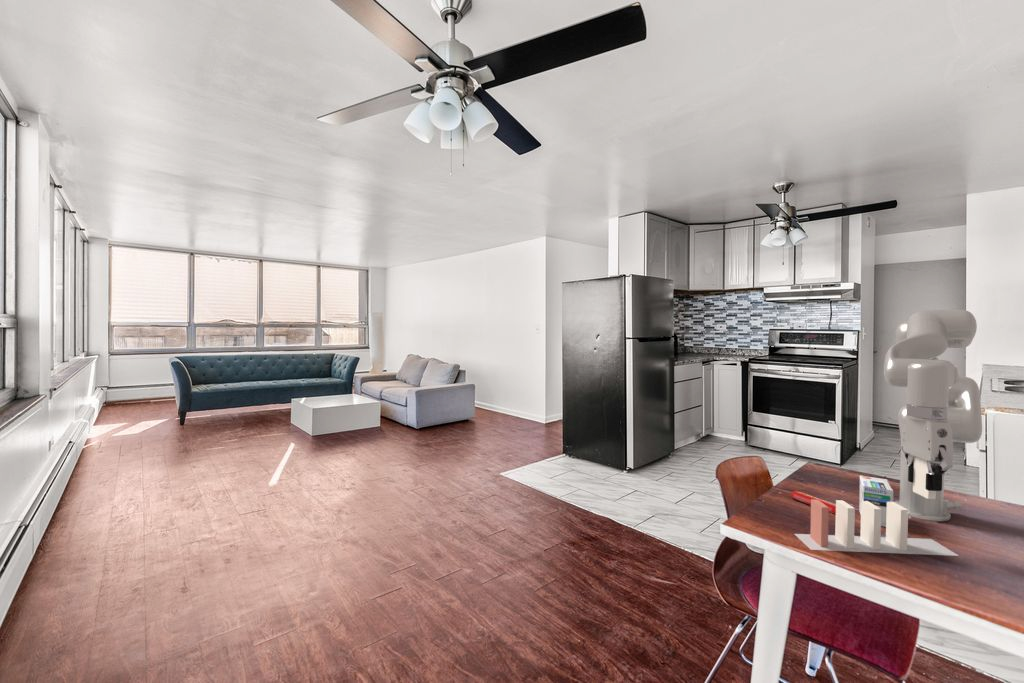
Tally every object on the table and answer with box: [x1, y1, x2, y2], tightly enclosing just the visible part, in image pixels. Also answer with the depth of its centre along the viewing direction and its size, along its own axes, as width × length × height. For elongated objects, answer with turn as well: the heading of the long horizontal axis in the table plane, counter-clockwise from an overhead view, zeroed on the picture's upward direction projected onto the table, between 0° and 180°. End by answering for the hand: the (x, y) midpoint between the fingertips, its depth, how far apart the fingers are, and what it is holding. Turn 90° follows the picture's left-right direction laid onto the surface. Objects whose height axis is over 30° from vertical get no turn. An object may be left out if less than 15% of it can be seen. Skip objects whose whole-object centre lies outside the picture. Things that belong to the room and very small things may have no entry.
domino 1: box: [809, 499, 830, 547], centre depth 117 cm, size 2×5×10 cm, turn 174°
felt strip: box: [794, 533, 960, 557], centre depth 116 cm, size 33×8×1 cm, turn 83°
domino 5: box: [913, 456, 937, 499], centre depth 113 cm, size 2×5×10 cm, turn 174°
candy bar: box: [790, 490, 836, 515], centre depth 140 cm, size 16×4×3 cm, turn 22°
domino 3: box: [859, 501, 882, 549], centre depth 115 cm, size 2×5×10 cm, turn 174°
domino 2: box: [834, 499, 856, 548], centre depth 116 cm, size 2×5×10 cm, turn 174°
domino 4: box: [885, 501, 909, 550], centre depth 115 cm, size 2×5×10 cm, turn 174°
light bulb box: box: [858, 475, 894, 528], centre depth 130 cm, size 11×7×11 cm, turn 148°
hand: (924, 485), depth 113 cm, fingers closed on domino 5, 4 cm apart
